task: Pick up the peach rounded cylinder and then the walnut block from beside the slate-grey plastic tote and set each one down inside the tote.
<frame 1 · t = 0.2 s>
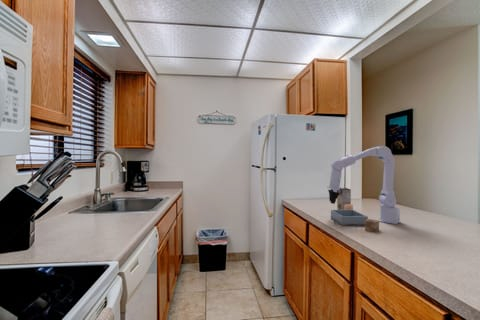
hand: (332, 202, 148), 10 cm above the worktop, tool pointing down, fingers open, 7 cm apart
peach rounded cylinder: (348, 215, 158), on the worktop
slate tote: (348, 221, 144), on the worktop
walnut block: (372, 230, 126), on the worktop
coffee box: (343, 211, 172), on the worktop
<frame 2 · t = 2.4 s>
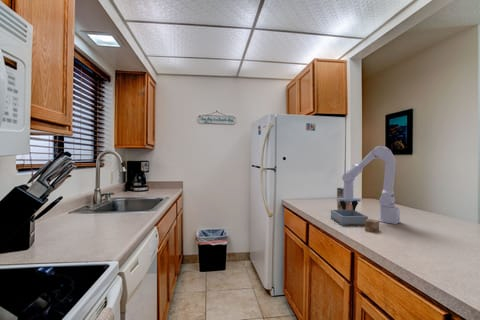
hand: (348, 212, 158), 2 cm above the worktop, tool pointing down, fingers closed on peach rounded cylinder, 5 cm apart
peach rounded cylinder: (348, 215, 158), on the worktop, touching gripper
everything else where it was.
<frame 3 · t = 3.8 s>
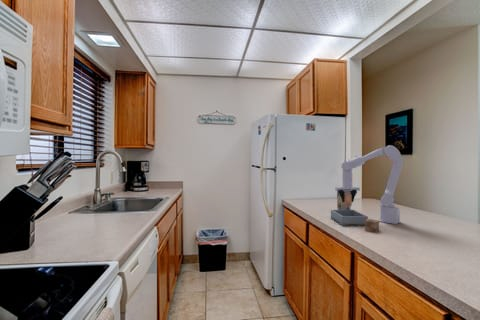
hand: (347, 201, 155), 9 cm above the worktop, tool pointing down, fingers closed on peach rounded cylinder, 5 cm apart
peach rounded cylinder: (347, 205, 155), point 7 cm above the worktop, touching gripper
everything else where it was.
when the fingers open (5 cm above the worktop, at t = 5.7 s): peach rounded cylinder drops 2 cm, resting on slate tote.
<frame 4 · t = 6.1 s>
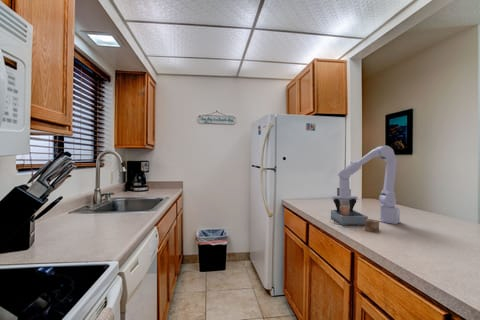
hand: (344, 211, 148), 5 cm above the worktop, tool pointing down, fingers open, 7 cm apart
peach rounded cylinder: (344, 218, 148), point 1 cm above the worktop, touching slate tote
everything else where it was.
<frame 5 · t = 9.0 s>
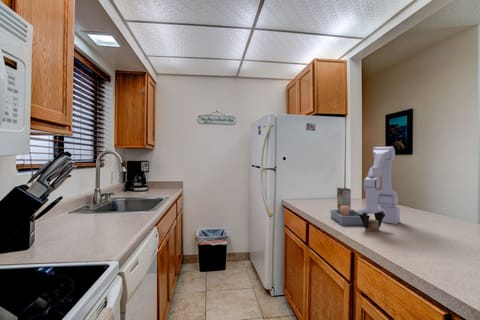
hand: (371, 227, 126), 1 cm above the worktop, tool pointing down, fingers closed on walnut block, 7 cm apart
walnut block: (372, 230, 126), on the worktop, touching gripper
everything else where it was.
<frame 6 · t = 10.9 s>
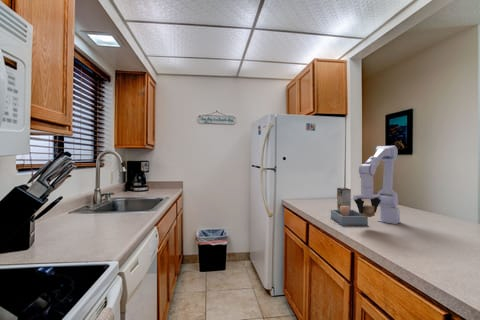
hand: (367, 212, 128), 8 cm above the worktop, tool pointing down, fingers closed on walnut block, 7 cm apart
walnut block: (367, 215, 128), point 7 cm above the worktop, touching gripper
everything else where it was.
when the fingers open (4 cm above the worktop, at t = 13.2 s): walnut block drops 2 cm, resting on slate tote.
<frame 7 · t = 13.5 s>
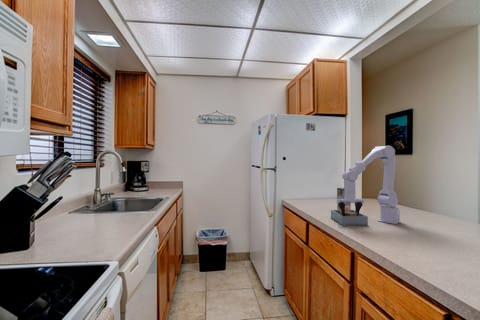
hand: (350, 215, 140), 4 cm above the worktop, tool pointing down, fingers open, 7 cm apart
walnut block: (350, 221, 140), point 1 cm above the worktop, touching slate tote
everything else where it was.
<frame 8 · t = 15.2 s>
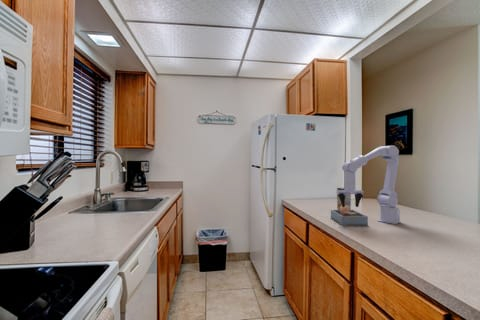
hand: (350, 206, 140), 9 cm above the worktop, tool pointing down, fingers open, 7 cm apart
nothing on the worktop moved.
at the end: peach rounded cylinder inside the target area on the slate tote (4.2 cm from its centre), point 1.1 cm above the slate tote's base; walnut block inside the target area on the slate tote (4.0 cm from its centre), point 1.0 cm above the slate tote's base; peach rounded cylinder tilted 2° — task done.
